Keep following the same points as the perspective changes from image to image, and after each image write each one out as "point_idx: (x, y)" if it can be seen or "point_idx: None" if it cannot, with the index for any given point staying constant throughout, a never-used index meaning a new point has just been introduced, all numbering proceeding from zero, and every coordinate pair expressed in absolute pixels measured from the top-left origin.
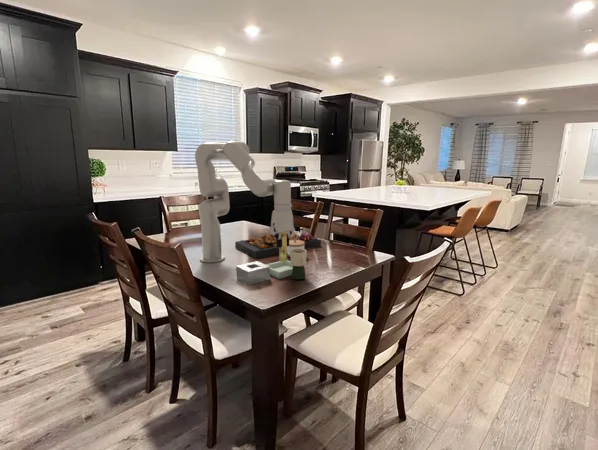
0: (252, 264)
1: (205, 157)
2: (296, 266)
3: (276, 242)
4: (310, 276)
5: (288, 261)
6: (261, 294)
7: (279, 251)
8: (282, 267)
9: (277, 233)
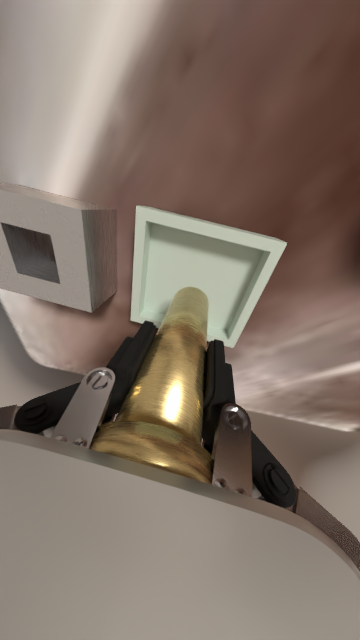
0: (38, 231)
1: None
2: None
3: (118, 349)
4: None
5: (263, 273)
6: (51, 331)
7: (164, 317)
8: (218, 264)
9: (82, 435)
